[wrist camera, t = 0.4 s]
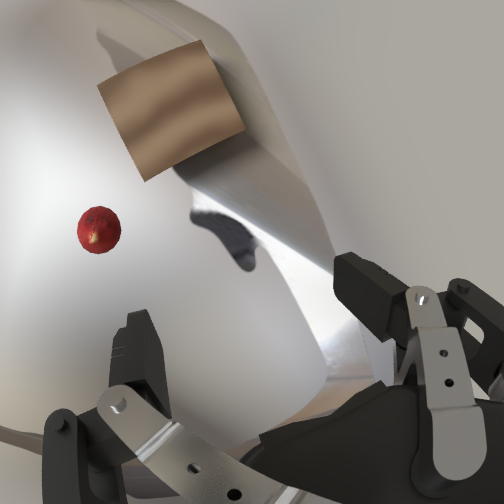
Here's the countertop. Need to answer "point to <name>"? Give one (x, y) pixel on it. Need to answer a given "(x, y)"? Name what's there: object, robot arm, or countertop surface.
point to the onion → (99, 230)
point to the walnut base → (170, 108)
